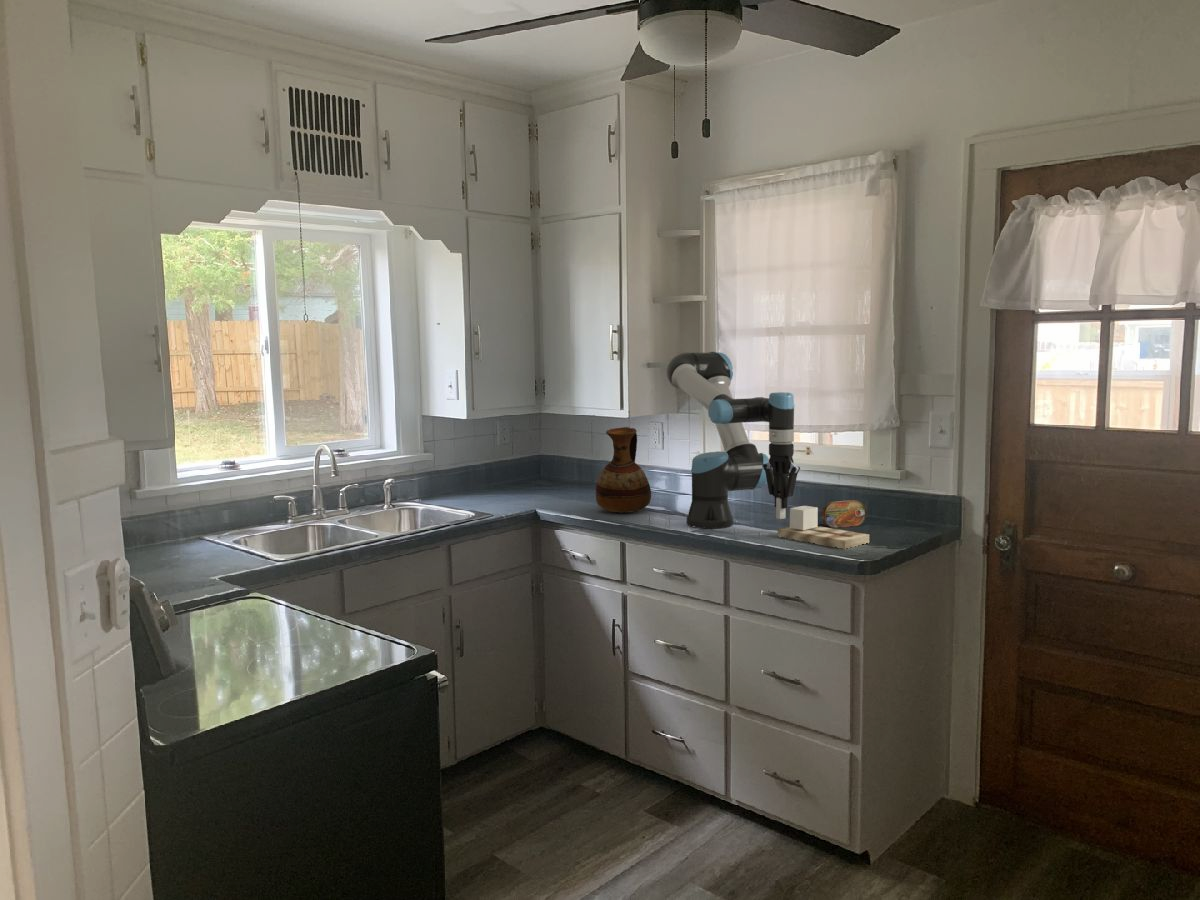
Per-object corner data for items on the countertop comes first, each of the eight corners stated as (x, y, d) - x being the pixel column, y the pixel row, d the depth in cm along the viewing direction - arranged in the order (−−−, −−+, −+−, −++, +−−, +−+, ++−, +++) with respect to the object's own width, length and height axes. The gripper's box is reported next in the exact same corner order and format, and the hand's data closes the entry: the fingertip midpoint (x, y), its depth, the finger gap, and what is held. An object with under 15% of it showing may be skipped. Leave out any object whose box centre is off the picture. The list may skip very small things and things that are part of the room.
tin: (825, 529, 292) (825, 502, 291) (820, 527, 295) (820, 501, 294) (866, 525, 296) (867, 499, 295) (861, 524, 299) (861, 498, 298)
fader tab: (789, 527, 280) (789, 508, 279) (804, 524, 285) (804, 505, 284) (803, 530, 276) (803, 510, 276) (817, 527, 281) (817, 507, 280)
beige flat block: (777, 536, 281) (777, 528, 280) (802, 531, 288) (802, 523, 288) (844, 549, 263) (845, 540, 262) (869, 543, 270) (869, 534, 270)
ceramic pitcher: (588, 514, 323) (587, 429, 320) (605, 505, 342) (604, 424, 339) (642, 516, 317) (642, 430, 314) (656, 507, 336) (656, 425, 333)
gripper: (756, 442, 287) (756, 517, 289) (790, 445, 277) (790, 522, 279) (772, 440, 292) (772, 514, 294) (806, 443, 282) (805, 519, 284)
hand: (780, 518), depth 287 cm, fingers closed
